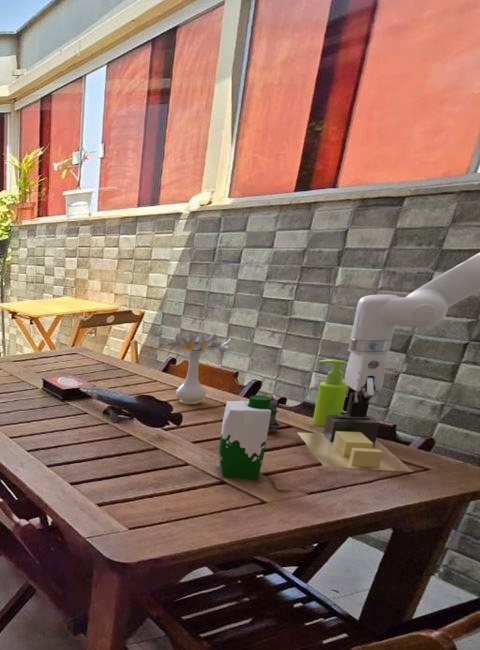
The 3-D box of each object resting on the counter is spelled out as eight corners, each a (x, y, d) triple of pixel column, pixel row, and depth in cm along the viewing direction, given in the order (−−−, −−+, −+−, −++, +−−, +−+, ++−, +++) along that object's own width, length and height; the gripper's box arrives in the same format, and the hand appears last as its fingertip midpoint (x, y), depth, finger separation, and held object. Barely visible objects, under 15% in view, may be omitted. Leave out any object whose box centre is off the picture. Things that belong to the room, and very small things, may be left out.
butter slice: (375, 464, 118) (379, 449, 117) (379, 467, 116) (383, 452, 115) (348, 462, 120) (351, 447, 119) (351, 465, 119) (354, 450, 117)
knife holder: (365, 436, 133) (370, 415, 131) (374, 444, 128) (380, 422, 126) (323, 434, 137) (327, 414, 135) (330, 442, 132) (334, 421, 130)
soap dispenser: (309, 422, 148) (322, 357, 142) (340, 426, 143) (354, 359, 137) (304, 427, 145) (317, 361, 138) (335, 432, 140) (350, 363, 133)
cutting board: (370, 439, 133) (371, 435, 133) (412, 476, 113) (413, 471, 113) (296, 436, 140) (297, 432, 140) (323, 470, 120) (324, 466, 120)
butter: (357, 446, 128) (360, 432, 126) (369, 458, 121) (373, 443, 120) (332, 445, 130) (335, 431, 129) (343, 456, 123) (346, 442, 122)
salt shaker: (252, 430, 147) (258, 392, 143) (277, 432, 144) (284, 393, 140) (254, 437, 143) (260, 398, 139) (280, 439, 140) (287, 399, 136)
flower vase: (226, 407, 168) (236, 334, 160) (165, 407, 175) (171, 337, 167) (217, 396, 179) (225, 327, 171) (160, 396, 186) (165, 330, 178)
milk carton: (263, 481, 119) (276, 403, 112) (218, 478, 123) (228, 402, 116) (256, 467, 126) (269, 392, 119) (214, 464, 130) (224, 391, 123)
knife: (360, 438, 132) (371, 392, 127) (363, 441, 130) (374, 394, 126) (331, 437, 134) (341, 392, 130) (334, 440, 133) (344, 394, 128)
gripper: (404, 352, 115) (386, 425, 121) (375, 338, 129) (360, 404, 135) (362, 352, 118) (346, 423, 124) (338, 339, 132) (325, 404, 138)
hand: (353, 413), depth 130 cm, fingers open, 4 cm apart
